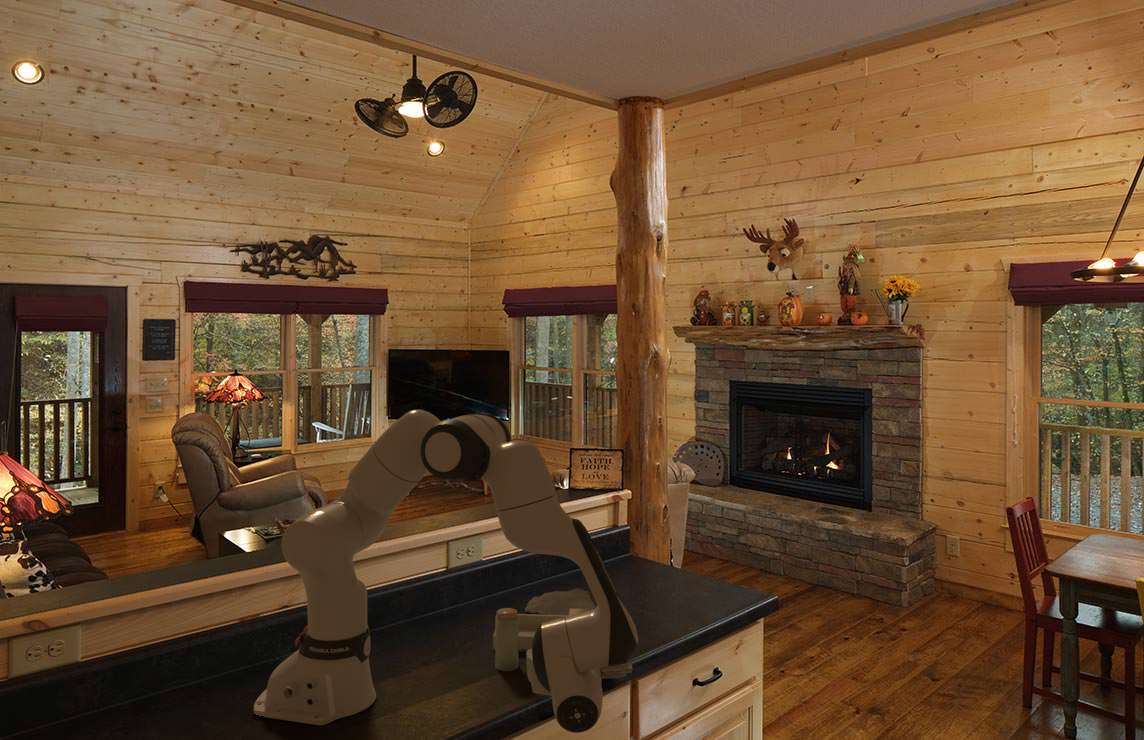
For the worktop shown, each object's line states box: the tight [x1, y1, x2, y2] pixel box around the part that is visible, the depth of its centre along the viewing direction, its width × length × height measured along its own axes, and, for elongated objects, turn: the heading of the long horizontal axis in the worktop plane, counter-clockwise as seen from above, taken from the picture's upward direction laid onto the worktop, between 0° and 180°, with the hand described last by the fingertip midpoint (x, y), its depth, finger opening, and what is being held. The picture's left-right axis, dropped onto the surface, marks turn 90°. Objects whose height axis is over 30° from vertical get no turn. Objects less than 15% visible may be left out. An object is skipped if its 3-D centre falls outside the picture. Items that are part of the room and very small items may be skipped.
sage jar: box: [494, 607, 520, 672], centre depth 163 cm, size 5×5×12 cm
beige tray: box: [492, 613, 569, 653], centre depth 177 cm, size 24×14×4 cm, turn 87°
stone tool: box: [524, 588, 597, 615], centre depth 194 cm, size 20×3×25 cm
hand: (577, 646), depth 154 cm, fingers open, 8 cm apart
